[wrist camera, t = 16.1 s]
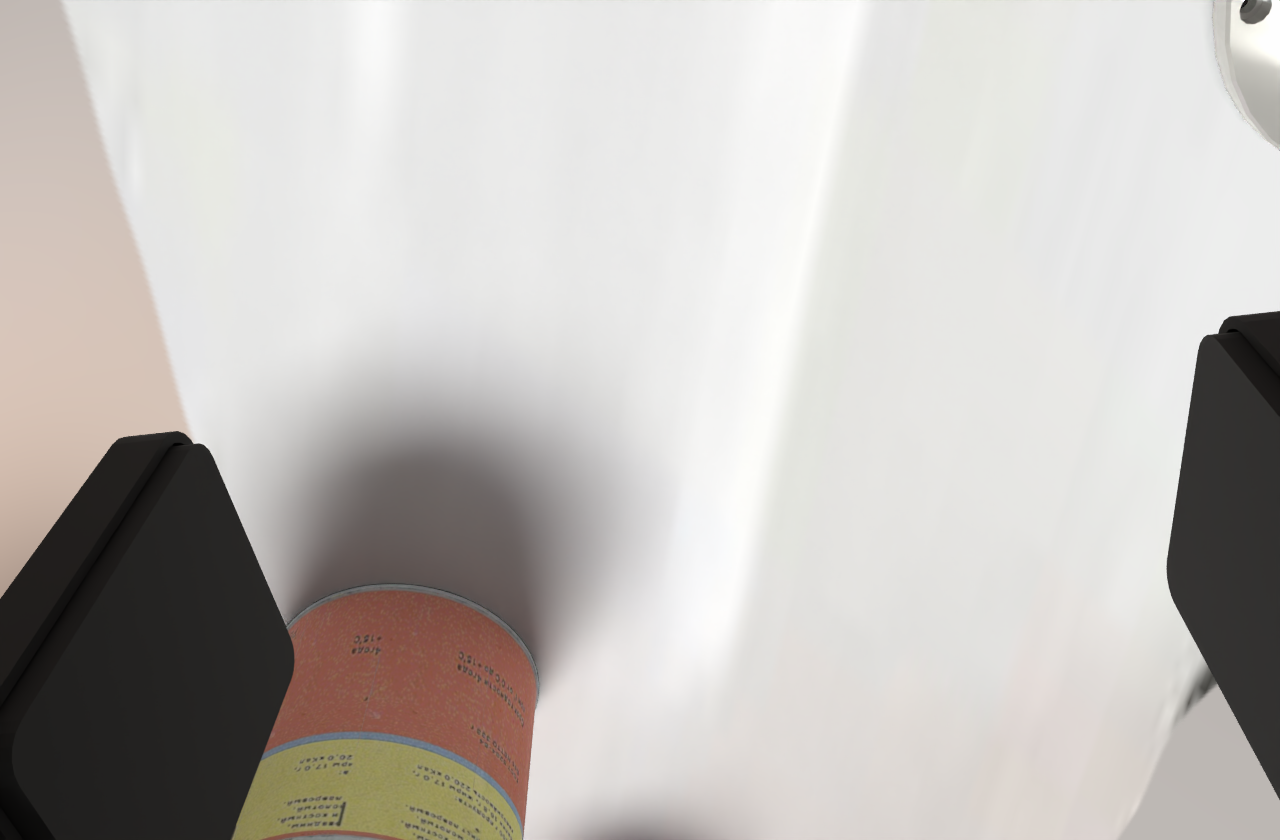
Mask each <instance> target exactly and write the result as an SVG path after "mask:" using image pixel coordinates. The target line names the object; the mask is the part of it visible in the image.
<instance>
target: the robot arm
mask: <svg viewBox="0 0 1280 840" xmlns="http://www.w3.org/2000/svg"><path fill="white" fill-rule="evenodd" d="M1244 1H1245V0H1214V7H1213V15H1212V19H1213V32H1214V45H1215V56H1216V60H1217V63H1218V66H1219V69H1220V73H1221V76H1222V79H1223V82H1224V86H1225V89H1226V91H1227V93H1228V95H1229V96H1230V98H1231V99H1232V101H1233V103H1234V104H1235V106H1236V108H1237V109H1238V111H1239V113H1240V114H1241V116H1242V118H1243V119H1244V120H1245V121H1246V122H1247V123H1248V124H1249V125H1250V126H1251V127H1252V128H1253V129H1254V130H1255V131H1256V132H1257V133H1258V134H1259V135H1260V136H1261V137H1262V138H1263V139H1264V140H1265V141H1266V142H1268V143H1269V144H1271V145H1272V146H1274V147H1275V148H1276V149H1278V150H1279V151H1280V0H1249V1H1248V3H1247V4H1246V5H1245V7H1243V8H1241V5H1242V3H1243V2H1244ZM1240 8H1241V9H1240ZM1167 579H1168V585H1169V589H1170V593H1171V596H1172V599H1173V601H1174V603H1175V605H1176V607H1177V609H1178V611H1179V613H1180V615H1181V616H1182V618H1183V620H1184V622H1185V624H1186V626H1187V628H1188V629H1189V631H1190V633H1191V635H1192V637H1193V639H1194V641H1195V643H1196V644H1197V646H1198V648H1199V650H1200V652H1201V654H1202V656H1203V657H1204V659H1205V661H1206V663H1207V665H1208V667H1209V669H1210V671H1211V672H1212V674H1213V676H1214V678H1215V680H1216V682H1217V684H1218V685H1219V687H1220V689H1221V691H1222V693H1223V695H1224V697H1225V699H1226V700H1227V702H1228V704H1229V706H1230V708H1231V710H1232V712H1233V713H1234V715H1235V717H1236V719H1237V721H1238V723H1239V725H1240V726H1241V728H1242V730H1243V732H1244V734H1245V736H1246V738H1247V740H1248V741H1249V743H1250V745H1251V747H1252V749H1253V751H1254V753H1255V755H1256V756H1257V758H1258V760H1259V762H1260V764H1261V766H1262V768H1263V770H1264V771H1265V773H1266V775H1267V777H1268V779H1269V781H1270V782H1271V784H1272V786H1273V788H1274V790H1275V792H1276V794H1277V796H1278V798H1279V799H1280V311H1277V312H1267V313H1258V314H1249V315H1240V316H1231V317H1229V318H1227V319H1226V320H1224V322H1223V324H1222V325H1221V327H1220V329H1219V333H1218V334H1213V335H1207V336H1205V337H1204V338H1203V339H1202V341H1201V343H1200V346H1199V350H1198V355H1197V362H1196V369H1195V375H1194V382H1193V389H1192V396H1191V402H1190V409H1189V416H1188V423H1187V429H1186V436H1185V443H1184V450H1183V456H1182V463H1181V470H1180V477H1179V483H1178V490H1177V497H1176V504H1175V510H1174V517H1173V524H1172V531H1171V537H1170V544H1169V551H1168V558H1167ZM294 663H295V659H294V648H293V643H292V640H291V637H290V635H289V633H288V630H287V628H286V626H285V623H284V621H283V619H282V616H281V614H280V612H279V609H278V607H277V605H276V602H275V600H274V598H273V595H272V593H271V591H270V588H269V586H268V584H267V582H266V579H265V577H264V575H263V572H262V570H261V568H260V565H259V563H258V561H257V558H256V556H255V554H254V551H253V549H252V547H251V544H250V542H249V540H248V537H247V535H246V533H245V530H244V528H243V526H242V523H241V521H240V519H239V516H238V514H237V512H236V510H235V507H234V505H233V503H232V500H231V498H230V496H229V493H228V491H227V489H226V486H225V484H224V482H223V479H222V477H221V475H220V472H219V470H218V468H217V465H216V463H215V461H214V458H213V456H212V455H211V453H210V451H209V450H208V449H207V448H206V447H205V446H204V445H202V444H193V443H192V441H191V439H190V438H188V437H187V436H186V435H185V434H184V433H181V432H179V431H175V432H165V433H156V434H147V435H138V436H128V437H123V438H120V439H118V440H117V441H116V442H115V443H114V444H112V446H111V447H110V449H109V450H108V451H107V453H106V454H105V456H104V457H103V458H102V460H101V461H100V462H99V464H98V465H97V467H96V468H95V469H94V471H93V472H92V473H91V475H90V476H89V478H88V479H87V480H86V482H85V483H84V484H83V486H82V487H81V488H80V490H79V491H78V493H77V494H76V495H75V497H74V498H73V499H72V501H71V502H70V504H69V505H68V506H67V508H66V509H65V511H64V512H63V513H62V515H61V516H60V518H59V519H58V520H57V522H56V523H55V524H54V526H53V527H52V529H51V530H50V531H49V533H48V534H47V535H46V537H45V538H44V540H43V541H42V542H41V544H40V545H39V546H38V548H37V549H36V550H35V552H34V553H33V555H32V556H31V557H30V559H29V560H28V561H27V563H26V564H25V566H24V567H23V568H22V570H21V571H20V573H19V574H18V575H17V577H16V578H15V579H14V581H13V582H12V584H11V585H10V586H9V588H8V589H7V590H6V592H5V593H4V595H3V596H2V597H1V599H0V840H231V837H232V834H233V832H234V829H235V827H236V824H237V821H238V819H239V816H240V813H241V811H242V808H243V806H244V803H245V800H246V798H247V795H248V792H249V790H250V787H251V784H252V782H253V779H254V777H255V774H256V771H257V769H258V766H259V763H260V761H261V758H262V755H263V753H264V750H265V748H266V745H267V742H268V740H269V737H270V734H271V732H272V729H273V727H274V724H275V721H276V719H277V716H278V713H279V711H280V708H281V705H282V703H283V700H284V698H285V695H286V692H287V690H288V687H289V684H290V682H291V679H292V676H293V672H294Z"/></svg>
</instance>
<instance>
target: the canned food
mask: <svg viewBox="0 0 1280 840" xmlns="http://www.w3.org/2000/svg"><path fill="white" fill-rule="evenodd" d="M286 628H287V630H288V633H289V635H290V637H291V640H292V643H293V648H294V659H295V663H294V672H293V676H292V679H291V682H290V684H289V687H288V690H287V692H286V695H285V698H284V700H283V703H282V705H281V708H280V711H279V713H278V716H277V719H276V721H275V724H274V727H273V729H272V732H271V734H270V737H269V740H268V742H267V745H266V748H265V750H264V753H263V755H262V758H261V761H260V763H259V766H258V769H257V771H256V774H255V777H254V779H253V782H252V784H251V787H250V790H249V792H248V795H247V798H246V800H245V803H244V806H243V808H242V811H241V813H240V816H239V819H238V821H237V824H236V827H235V829H234V832H233V834H232V837H231V840H523V836H524V825H525V813H526V802H527V791H528V780H529V769H530V757H531V746H532V735H533V724H534V713H535V709H536V706H537V701H538V692H539V681H538V674H537V669H536V666H535V663H534V661H533V658H532V656H531V654H530V652H529V650H528V649H527V647H526V646H525V644H524V643H523V641H522V640H521V639H520V637H519V636H518V635H517V634H516V633H515V632H514V631H513V630H512V629H511V628H510V627H509V626H508V625H507V624H506V623H505V622H504V621H502V620H501V619H500V618H499V617H497V616H496V615H494V614H493V613H491V612H490V611H488V610H487V609H485V608H483V607H481V606H480V605H478V604H476V603H474V602H472V601H469V600H467V599H465V598H463V597H460V596H457V595H454V594H452V593H448V592H445V591H441V590H438V589H433V588H428V587H423V586H416V585H405V584H379V585H368V586H362V587H356V588H352V589H348V590H344V591H341V592H338V593H335V594H332V595H330V596H328V597H325V598H323V599H321V600H319V601H317V602H316V603H314V604H312V605H310V606H309V607H308V608H306V609H305V610H303V611H302V612H301V613H300V614H299V615H297V616H296V617H295V618H294V619H293V620H292V621H291V622H290V624H289V625H288V626H287V627H286Z"/></svg>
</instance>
